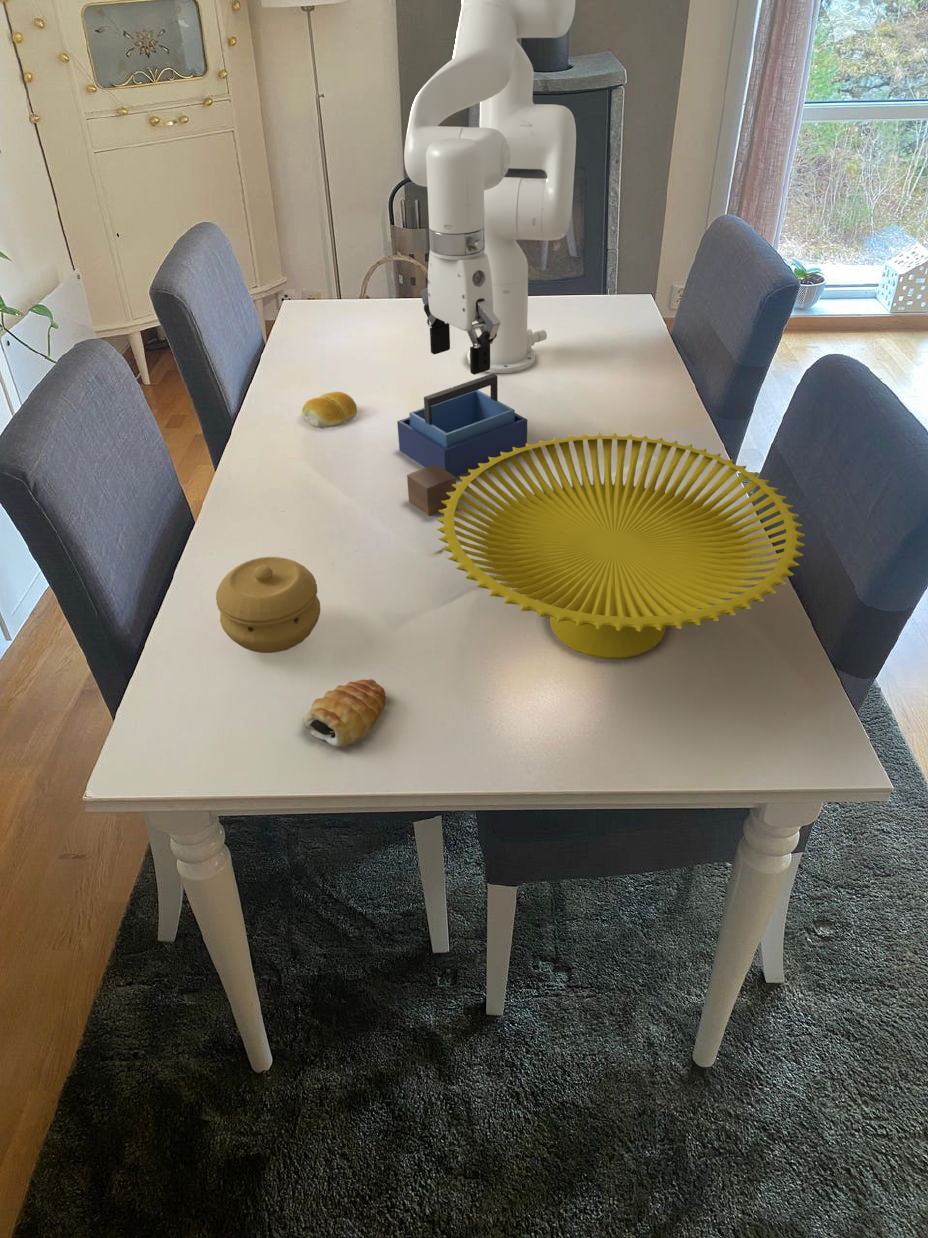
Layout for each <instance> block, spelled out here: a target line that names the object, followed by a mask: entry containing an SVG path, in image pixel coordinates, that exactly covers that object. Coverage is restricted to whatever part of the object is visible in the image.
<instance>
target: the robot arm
mask: <svg viewBox="0 0 928 1238" xmlns="http://www.w3.org/2000/svg"><path fill="white" fill-rule="evenodd" d="M575 10H576V0H461V9H460V15H459V19H458V25H457V30H456V38H455V44H454V49H453V54H452V59H450V60H449V61H448V62H446V64H444V65H443V66H442V67H441V68H439V69H438V70H437V71H436V72H435V73H434V74H433V75H432V76H431V77H430V78H429V79H428V81H427V82H426V83H425V84H423V86H422V87H421V89H420V90H419V92H418V93H417V95H416V96H415V98H414V101H413V103H412V106H411V110H410V114H409V118H408V124H407V129H406V136H405V141H404V151H403V159H404V160H403V161H404V168H405V172H406V174H407V177H408V178H409V179H410V181H411V182H412V183H414V184H415V185H417V186H420V187H424V188H425V187H426V188H427V189H426V190H427V210H428V212H427V213H428V238H429V240H428V241H429V253H428V254H429V255H428V264H427V265H428V267H427V287H425V288H423V289H422V290H420V293H419V294H420V298H421V300H422V303H423V310H424V312H425V315H426V317H427V319H426V324H427V326H428V327H429V340H430V341H429V342H430V343H429V344H430V354H432V355H437V354H441V353H444V352H447V351H450V350H451V333H450V331H451V330H450V328H451V327H450V326H452V327H455V328H457V329H459V330H462V331H464V332H467V335H468V338H469V339H470V342H471V344H472V346H470V347H469V351H468V352H467V356H466V357H467V363H468V364H469V368H470V369H469V371H470V374H472V375H478V374H481V373H484V372H485V373H489V374H492V373H493V374H509V373H511V374H512V373H516V372H520V371H524V370H525V369H528V368H530V367H531V366H532V365H533V364H534V363H535V361H536V352H535V351H534V349H533V348H532V347H533V346H534V345H535V343H540V342H543V341H546V340H547V338H548V334H547V332H546V330H545V329H540V330H536V331H535V332H533V330H532V329H531V328H528V315H529V314H528V311H529V310H528V309H529V307H528V305H529V263H528V259H527V257H526V255H525V252H524V251H523V249H522V247H520V244H519V243H518V242H517V241H520V240H521V241H523V240H524V241H558V240H561V239H563V238H564V237H565V236H567V234H568V232H569V229H570V227H571V222H572V211H573V201H574V200H573V198H574V184H575V183H574V182H575V168H576V150H577V128H576V127H577V126H576V125H577V124H576V121H575V117H574V114H573V112H572V111H571V110H570V108H568V107H567V106H565V105H561V104H552V103H551V104H547V103H546V104H544V103H542V104H541V103H534V101H533V100H534V99H533V96H534V95H533V94H534V77H535V72H534V66H533V64H532V62H531V60H530V58H529V57H528V54H527V52H526V51H525V50H524V48H523V47H522V46H521V44H520V43H519V42H518V41H517V40H518V39H558V38H560V37H564V36H565V35H566V34H567V33H568V31H569V30H570V28H571V26H572V23H573V21H574V17H575ZM477 104H479V126H470V127H469V126H449V125H448V126H441V125H440V124H441V123H443V121H445V120H446V119H447V118H449V117H451V116H452V115H453V114H455V113H458V112H460V111H462V110H466V109H468V108H470V107H473V106H475V105H477ZM439 125H440V126H439ZM509 169H513V170H515V169H517V170H541V171H543V172H545V174H546V178H537V177H536V178H531V177H515V176H514V177H510V176H509V177H507V176H506V175H507V173H508V171H509ZM473 323H474V324H473Z"/></svg>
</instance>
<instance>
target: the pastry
mask: <svg viewBox="0 0 928 1238" xmlns="http://www.w3.org/2000/svg"><path fill="white" fill-rule="evenodd" d="M386 701H387V695H386V692H385V689H384V687H383V686H382V685H380V684H378V683H377V681H376V680H374V679H373V678H370V679H359V680H355V681H349V682H347V683H346V684H345V685H342V684H341V685H337V686H336V687H335V689H333V690H327V691H326V692H325V693H324V696H323V697H320V698H316V699H315V700H314V701H313V702H312V704H311V707H310V709H309V711H307V713H306V715H305V717H303V718H302V724H303V726H304V728H306V729H307V730H308V732H309V734H310V735H312V736H313V737H315V739H319V740H323V741H326V742H327V743H328V744H329V745H331V746H333V747H338V748H339V747H345V746H351V745H353V744H356V743H358V742H360V741H361V740H362V739H363V738H364V737H365V736H367V735H368V734H369V732H370V731H371V730H372V729H373V727H374V726H375V724H376V723H377V721H378V720H379V718H380V716H381V715H382V713H383V711H384V709H385V708H386Z"/></svg>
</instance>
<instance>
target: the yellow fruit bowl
mask: <svg viewBox="0 0 928 1238" xmlns="http://www.w3.org/2000/svg"><path fill="white" fill-rule="evenodd" d="M585 440H586V441H587V445H588V449H589V455H590V462H591V470H592V483H591V480H590V476H589V472H588V471H589V470H588V467H587V461H586V456H585V450H584V441H585ZM598 440H602V448H603V468H604V469H603V483H602V480H601V473H600V464H599V463H600V462H599V451H598V449H599V448H598ZM613 440H616V444H617V445H616V446H617V447H616V448H617V451H616V470H615V479H614V483H613V479H612V450H613V449H612V447H613ZM628 441H631V451H630V459H629V465H628V471H627V476H626V479H625V482H624V467H625V466H624V465H625V457H626V449H627V444H628ZM569 442H572V443H573V446H574V449H575V453H576V457H577V460H578V465H579V470H580V476H581V481H582V482H580V479H579V476H578V473H577V471H576V468H575V465H574V461H573V458H572V457H573V456H572V453H571V448H570V444H569ZM643 442H645V443H646V446H645V452H644V457H643V461H642V465H641V469H640V472H639V476H638V479H637V482H636V484H635V476H636V471H637V464H638V460H639V455H640V451H641V447H642V444H643ZM555 444H558V445H559V448H560V450H561V452H562V455H563V458H564V460H565V463H566V467H567V470H568V473H569V477H570V480H571V484H570V482H569V480H568V477H567V475H566V473H565V472H564V469H563V466H562V463H561V461H560V458H559V455H558V451H557V448H556V445H555ZM658 444H659V445H661V447H660V451H659V454H658V456H657V460H656V463H655V466H654V468H653V471H652V474H651V477H650V479H649V481H648V483H647V486H646V480H647V477H648V472H649V468H650V465H651V462H652V459H653V456H654V453H655V450H656V449H657V448H656V447H657V446H658ZM544 446H545V449H546V451H547V453H548V455H549V457H550V459H551V461H552V464H553V466H554V468H555V471H556V473H557V476H558V479H559V481H560V483H559V481H558V480H557V478H556V476H554V474H553V471H552V469H551V468H550V466H549V464H548V461H547V459H546V456H545V455H544V452H543V449H542V447H544ZM672 447H673V448H675V450H674V453H673V455H672V458H671V460H670V463H669V465H668V467H667V470H666V472H665V474H664V476H663V477H662V479H661V482H660V484H659V485H658V487H657V482H658V480H659V477H660V474H661V472H662V469H663V467H664V464H665V462H666V460H667V457H668V455H669V453H670V451H671V450H672ZM529 450H532V452H533V454H534V455H535V457H536V459H537V460H538V462H539V464H540V466H541V467H542V470H543V472H544V473H545V475H546V477H547V479H548V481H549V484H550V485H549V484H548V483H547V481H546V480H545V479H544V478H543V476H542V474H541V472H540V471H539V468H538V467H537V466H536V464H535V462H534V460H533V459H532V456H531V454H530V452H529ZM687 451H689V455H688V456H687V458H686V461H685V462H684V464H683V466H682V468H681V470H680V471H679V473H678V475H677V476H676V478H675V479H674V482H673V483H672V484H671V486H670V487H669V489H667V487H668V485H669V483H670V480H671V479H672V477H673V474H674V472H675V471H676V469H677V467H678V465H679V463H680V461H681V459H682V458H683V456H684V454H685V453H686V452H687ZM500 454H501V456H499V457H496V458H494V457H488V458H489V460H490V462H488V463H478V465H479V466H480V468H478V469H475V470H470V469H468V471H469V472H468V473H469V475H467V476H459V479H460V480H461V482H460V483H456V484H452V486H453V487H454V488H456V490H455V491H454V492H446V493H447V495H449V496H450V497H451V498H450V499H449V500H445V501H441V502H442V503H443V504H445V505H446V506H447V508H445V509H442V510H438V511H439V512H438V513H441V514H443V515H444V516H443V517H440V518H436V521H437V522H439V523H441V524H442V525H443V526H441V527H439V528H436V530H437V531H439V532H441V533H442V534H444V536H442V537H440V538H438V540H439V541H441V542H444V543H446V544H448V545H446V546H445V547H443V548H442V550H444V551H446V552H449V553H451V554H452V555H451V556H450V557H448V558H447V560H450V561H453V562H456V563H459V565H458V566H457V567H455V569H456V570H459V571H463V572H467V575H466V576H465V577H464V578H465V579H467V580H472V581H477V582H478V584H477V585H476V588H479V589H486V590H489V591H490V593H489V595H488V596H489V597H497V598H504V599H505V601H504V604H505V605H518V606H520V607H521V608H520V612H530V611H531V612H532V611H533V612H537V613H538V615H537V616H538V617H539V618H542V617H549V624H550V628H551V630H552V632H553V634H554V636H555V637H556V638H557V639H558V640H559V641H560V642H561V643H562V644H564V645H565V646H566V647H568V648H569V649H572V650H573V651H575V652H577V653H580V654H583V655H585V656H587V657H588V656H589V657H593V658H599V659H607V660H609V659H611V660H615V659H627V658H632V657H636V656H639V655H641V654H645V653H646V652H648V651H650V650H652V649H654V648H655V647H656V646H657V645H658V644H659V643H660V642H661V640H662V639H663V637H664V635H665V632H666V629H667V627H672V628H675V629H683V625H684V624H690V625H691V624H692V625H695V626H701V625H702V621H703V620H706V621H714V622H719V621H720V619H719V616H720V615H725V616H727V615H728V616H736V615H737V614H736V611H735V610H751V609H752V607H751V605H750V603H751V602H753V603H754V602H765V599H764V597H762V595H772V594H777V591H776V590H775V589H774V588H773V587H775V586H782V585H786V584H787V583H786V582H785V581H784V580H782V579H783V578H787V577H791V576H794V575H795V573H793V572H792V571H790V570H789V568H793V567H797V566H800V563H798V562H796V561H795V560H794V559H796V558H800V557H803V556H804V554H803V553H802V552H799V551H798V550H796V549H798V548H801V547H804V546H805V545H806V544H805V543H802V542H800V541H798V539H800V538H803V537H805V536H806V534H805V533H802V532H800V531H798V530H796V529H798V528H800V527H802V526H803V524H802V523H798V522H796V521H794V520H795V519H796V518H798V517H799V516H800V514H797V513H793V512H790V511H789V510H791V509H792V508H793V507H794V505H792V504H787V503H784V502H783V501H784V500H786V499H787V495H779V494H777V493H776V492H777V491H778V489H779V488H778V487H772V486H768V485H767V484H768V483H769V481H770V480H769V479H761V478H758V477H757V475H758V472H751V471H748V470H746V468H747V467H748V466H747V465H737V464H734V459H725V458H723V457H721V456H722V455H721V453H714V454H712V453H708V452H707V448H703V449H697V448H694V447H693V444H692V443H690V444H687V445H684V444H683V445H682V444H679V443H678V441H677V440H675V441H671V442H670V441H666V440H663V437H660V438H657V439H651V438H649V437H648V435H645V436H641V437H637V436H633V435H632V434H631V433H629V434H627V435H626V436H621V435H618V434H616V433H614V434H612V435H604V434H601V433H600V432H598V434H596V435H593V436H592V435H588V434H585V433H583V434H582V436H572V435H571V434H568V436H567V437H566V438H558V437H555V436H554V437H553V439H552V440H543V439H539V440H538V442H537V443H533V444H532V443H528V442H527V443H526V447H522V448H515V447H513V451H512V452H508V453H505V452H500ZM517 454H519V455H520V456H521V458H522V460H524V462H525V464H526V465H527V466H528V467H527V468H529V470H530V472H531V473H532V474H533V476H534V478H535V480H536V482H537V483H538V484H539V485H537V484H536V483H535V482H534V480H533V479H532V478H531V477H530V475H529V474H528V472H527V471H526V470H525V468H524V466H523V465H522V463H521V462H520V460H519V459H518V457H517ZM700 455H701V456H703V457H702V458H701V460H700V462H699V464H698V466H697V467H696V469H695V470H694V472H693V473H692V475H691V476H690V477H689V479H688V480H687V482H686V483H685V484H684V485H683V487H682V488H680V486H681V484H682V482H683V481H684V479H685V477H686V476H687V474H688V472H689V470H691V468H692V467H693V465H694V463H695V462H696V460H697V459H698V458H699V456H700ZM505 459H508V460H509V462H510V463H511V465H513V467H514V468H515V469H516V470H517V472H518V473H519V474H520V476H521V477H522V479H523V480H524V482H525V483H526V484H527V485H528V487H529V488H530V489H528V488H527V487H526V486H525V485H524V484H523V482H522V481H521V480H520V479H519V477H517V475H515V473H514V472H513V470H512V469H511V467H509V465H508V463H507V462H506V461H505ZM713 460H715V461H716V462H715V464H714V465H713V467H712V468H711V469H710V471H709V472H708V473H707V474H706V476H705V477H704V479H703V480H702V481H701V482H700V483H699V484H698V486H697V487H696V488H695V489H694V490H693V491H692V492H691V493H689V492H690V490H691V488H692V487H693V486H694V484H695V483H696V482H697V481H698V479H699V477H700V476H701V475H702V474H703V472H704V471H705V470H706V468H707V467H708V466H709V465H710V464H711V462H712V461H713ZM496 464H497V466H499V468H500V469H501V470H502V471H503V472H504V473H505V475H506V476H507V477H508V478H509V479H510V480H511V481H512V483H514V485H515V486H516V487H517V489H518V490H519V491H518V490H516V488H514V487H513V486H512V485H511V483H510V482H509V481H507V480H506V479H505V477H504V476H503V475H502V474H501V473H500V472H499V470H498V469H497V468H496V467H495V465H496ZM725 466H727V467H728V468H727V469H726V470H725V472H724V473H723V474H722V475H721V476H720V478H718V480H717V481H716V482H715V483H714V484H713V485H712V486H711V487H710V488H709V489H708V490H707V491H706V492H705V493H704V494H703V495H701V496H700V494H701V493H702V491H703V490H705V488H706V487H707V486H708V485H709V483H711V482H712V480H713V479H714V478H715V477H716V476H717V474H718V473H719V472H720V471H721V470H723V469H724V467H725ZM486 470H487V471H488V472H489V473H490V474H491V475H492V476H493V477H495V479H496V480H497V481H498V482H499V483H500V484H501V485H502V486H503V487H504V488H505V489H506V490H507V491H508V492H509V493H510V494H511V495H512V496H513V497H511V496H510V495H509V494H508V493H506V492H505V491H504V490H503V489H502V488H501V487H499V486H498V485H497V483H495V482H494V481H493V480H492V479H491V478H490V477H489V476H488V474H487V473H486V472H485V471H486ZM737 472H738V473H740V474H739V475H738V476H737V477H736V478H735V479H734V480H733V481H732V482H731V483H730V484H729V485H728V486H727V487H726V488H724V490H722V491H721V492H720V493H719V494H718V495H717V496H716V497H714V498H713V499H712V500H709V499H710V498H711V497H712V496H713V495H714V494H715V493H716V492H717V491H718V490H720V488H721V487H722V486H723V485H724V484H725V483H726V482H728V480H730V479H731V477H732V476H734V475H735V474H736V473H737ZM477 477H478V478H479V479H481V480H482V481H483V482H484V483H486V484H487V486H489V488H491V489H492V490H493V491H495V493H497V494H498V495H499V496H500V498H499V497H498V496H497V495H496V494H494V493H493V492H491V491H490V490H488V488H486V486H484V485H483V484H482V483H481V482H480V481H479V480H477ZM747 479H749V480H750V481H748V483H747V484H746V485H745V486H743V487H742V488H741V489H739V491H737V492H736V493H735V494H734V495H732V497H730V498H729V499H727V500H726V501H724V502H723V503H721V504H720V505H718V504H719V503H720V502H721V501H722V500H723V499H724V498H726V497H727V496H728V495H729V494H730V493H731V492H733V491H734V490H735V489H736V488H738V487H739V486H740V485H741V484H742V483H744V482H745V481H746V480H747ZM581 483H582V484H581ZM624 483H625V484H624ZM469 484H470V485H472V486H474V487H475V488H476V489H478V490H479V491H480V492H481V493H483V494H484V495H485V496H486V497H488V498H489V499H490V500H491V501H492V502H494V503H495V504H496V505H497V506H496V505H495V504H493V503H492V502H490V501H488V500H487V499H485V498H484V497H482V495H480V494H478V493H477V492H476V491H475V490H474V489H472V488H471V487H470V486H469ZM539 486H540V487H539ZM645 486H646V487H645ZM758 486H759V487H760V488H759V489H758V490H757V491H756V492H754V493H753V494H752V495H750V496H748V498H746V499H745V500H743V501H742V502H741V503H738V505H736V506H734V507H732V508H731V509H728V508H729V507H730V506H732V505H733V504H734V503H736V502H737V501H739V499H741V498H743V496H745V495H747V494H748V493H749V492H750V491H752V490H754V489H755V488H756V487H758ZM656 487H657V488H656ZM679 488H680V490H679V491H678V489H679ZM530 490H531V491H530ZM666 490H667V491H666ZM677 491H678V492H677ZM464 492H465V493H467V494H468V495H469V496H471V497H472V498H474V499H475V500H476V501H477V502H480V504H482V505H483V506H485V507H486V508H488V509H489V510H490V511H489V510H488V509H486V508H484V507H482V506H481V505H479V504H478V503H476V502H474V501H473V500H471V499H470V498H469V497H467V496H466V495H464V494H463V493H464ZM520 492H521V493H522V494H521V493H520ZM688 493H689V494H688ZM687 494H688V495H687ZM765 495H768V496H767V497H766V498H764V499H762V500H761V501H760V502H758V503H757V504H755V505H753V506H752V507H750V508H749V509H747V510H745V511H743V512H742V513H739V514H737V513H738V512H740V511H741V510H743V509H744V508H746V507H748V506H749V505H750V504H752V503H753V502H755V501H756V500H757V499H759V498H761V497H763V496H765ZM699 496H700V497H699ZM698 497H699V498H698ZM501 498H502V499H503V500H502V499H501ZM459 500H460V501H462V502H464V503H465V504H467V505H469V506H470V507H472V508H474V509H475V510H477V511H478V512H480V513H481V514H483V515H481V514H478V513H476V512H474V511H473V510H471V509H469V508H468V507H466V506H464V505H463V504H461V503H460V502H459ZM708 500H709V501H708ZM706 502H707V503H706ZM773 503H774V505H773V506H772V507H770V508H768V509H766V510H764V511H763V512H761V513H759V514H758V515H756V516H754V517H752V518H749V519H747V520H745V521H744V519H745V518H747V517H749V516H750V515H752V514H754V513H757V512H758V511H760V510H761V509H763V508H765V507H766V506H768V505H770V504H773ZM717 505H718V506H717ZM498 506H499V507H498ZM715 506H716V507H715ZM726 509H728V510H726ZM457 510H460V511H461V512H463V513H465V514H467V515H468V516H470V517H471V518H473V519H475V520H477V521H479V522H477V521H475V520H473V519H471V518H468V517H466V516H465V515H463V514H461V513H460V512H458V511H457ZM724 511H725V512H724ZM777 512H779V513H780V514H778V515H776V516H774V517H772V518H770V519H768V520H766V521H764V522H762V523H759V524H758V525H754V526H751V525H752V524H755V523H757V522H759V521H761V520H762V519H765V518H767V517H769V516H771V515H773V514H775V513H777ZM735 514H737V515H735ZM733 515H734V516H733ZM732 516H733V517H732ZM455 518H457V519H459V520H461V521H463V522H465V523H467V524H469V525H471V526H473V527H475V528H477V529H475V528H472V527H470V526H468V525H465V524H464V523H461V522H459V521H457V520H455ZM742 520H743V521H742ZM740 521H742V522H740ZM782 521H783V523H782V524H780V525H778V526H776V527H773V528H771V529H769V530H765V531H763V532H760V533H757V534H754V533H756V532H758V531H761V530H763V529H764V528H767V527H770V526H772V525H774V524H776V523H778V522H779V523H780V522H782ZM739 522H740V523H739ZM748 526H749V528H747V527H748ZM750 526H751V527H750ZM456 528H459V529H461V530H463V531H466V532H467V533H469V534H467V533H463V532H461V531H460V530H457V529H456ZM784 530H785V532H784V533H782V534H779V535H777V536H774V537H771V538H767V539H765V540H762V541H761V539H762V538H763V539H764V538H765V537H768V536H770V535H773V534H776V533H779V532H782V531H784ZM470 534H472V535H474V536H472V535H470ZM751 534H753V535H751ZM749 535H750V536H749ZM458 537H461V538H464V539H466V540H468V541H471V542H474V543H476V544H474V543H470V542H467V541H464V540H462V539H459V538H458ZM757 540H760V541H757ZM782 540H785V542H783V543H780V544H777V545H774V546H771V547H768V548H763V549H762V548H761V547H764V546H767V545H770V544H773V543H776V542H779V541H782ZM755 541H757V542H755ZM478 544H479V545H478ZM462 546H463V547H466V548H469V549H472V550H468V549H465V548H463V547H462ZM758 548H761V549H758ZM473 550H475V551H473ZM779 550H783V551H782V552H779V553H774V554H771V555H766V556H761V555H764V554H767V553H771V552H775V551H779ZM759 555H760V556H759ZM470 556H472V557H476V558H480V559H475V558H471V557H470ZM757 556H759V557H757ZM776 559H778V561H776V562H771V563H766V564H759V563H763V562H767V561H772V560H776ZM753 564H755V565H753ZM756 564H757V565H756ZM477 565H480V566H477ZM481 566H484V567H481ZM771 568H774V569H772V570H767V571H762V572H760V571H759V570H764V569H771ZM754 571H759V572H754ZM487 573H489V574H490V575H489V574H487ZM760 577H761V578H762V577H764V578H763V579H755V580H754V579H753V580H751V579H752V578H760ZM749 585H754V586H753V587H751V586H750V587H745V586H749ZM743 586H744V587H743ZM738 593H740V594H738ZM727 599H728V600H727ZM713 604H714V605H713Z"/></svg>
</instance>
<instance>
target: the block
mask: <svg viewBox="0 0 928 1238" xmlns="http://www.w3.org/2000/svg"><path fill="white" fill-rule="evenodd" d="M406 481H407V482H406V483H407V493H408V503H410V504H411V505H413V506H414V507H415V508H417V509H418V510H419V511H421V513H423V514H425V515H427V517H430V516H433V515H435V514H436V513H440V512H439V511H438V510H442V509H445V508H447V506H446V505H445V504H443V503H442V502H441V501H445V500H449V499H450V498H451V497H450V496H449V495H447V493H446V492H454V491H455V490H456V488H454V487H453V486H452V484H457V477H455V476H453V475H452V474H450V473H449V472H447V471H446V470H444V469H443V468H441V467H439V466H438V465H436V464H434V465H431V466H429V467H426V468H425V467H424V468H421V469H418V470H415V471H413V472H411V473H408V474H406Z"/></svg>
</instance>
